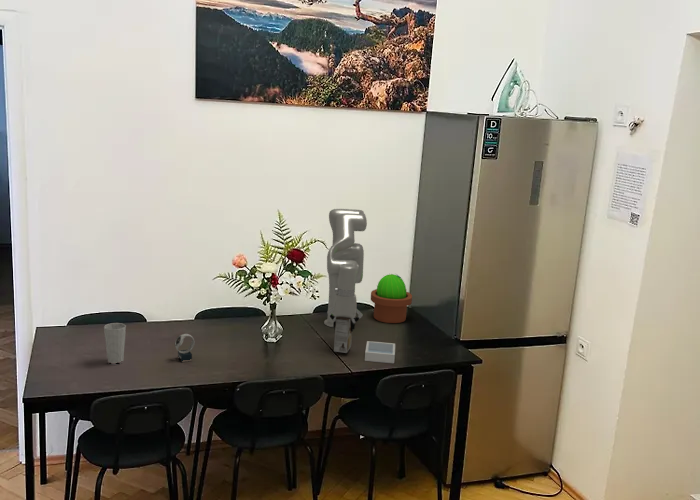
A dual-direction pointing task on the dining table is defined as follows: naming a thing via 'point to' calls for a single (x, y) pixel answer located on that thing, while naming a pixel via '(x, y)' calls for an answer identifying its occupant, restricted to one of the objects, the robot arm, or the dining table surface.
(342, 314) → the robot arm
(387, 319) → the potted cactus
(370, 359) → the shallow grey tray
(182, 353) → the watch
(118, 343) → the cup
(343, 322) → the coffee box
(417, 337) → the dining table surface
